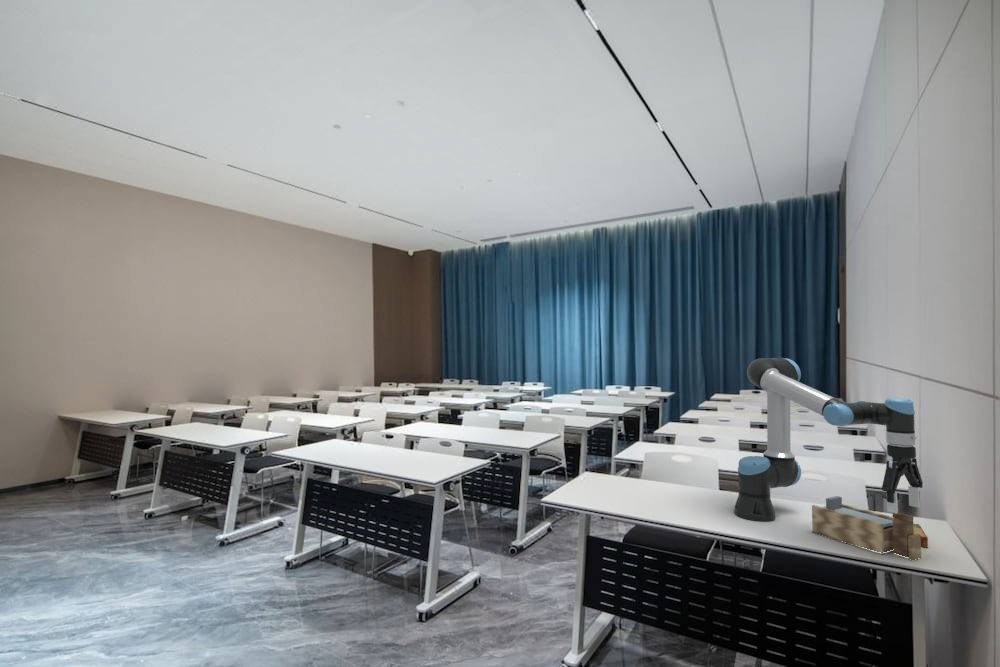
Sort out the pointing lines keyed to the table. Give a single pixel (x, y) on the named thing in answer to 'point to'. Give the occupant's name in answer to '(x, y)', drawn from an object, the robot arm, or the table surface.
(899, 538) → the brown block
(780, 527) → the table surface
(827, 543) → the table surface
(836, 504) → the lid
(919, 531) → the carton
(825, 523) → the wooden box
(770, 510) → the robot arm
